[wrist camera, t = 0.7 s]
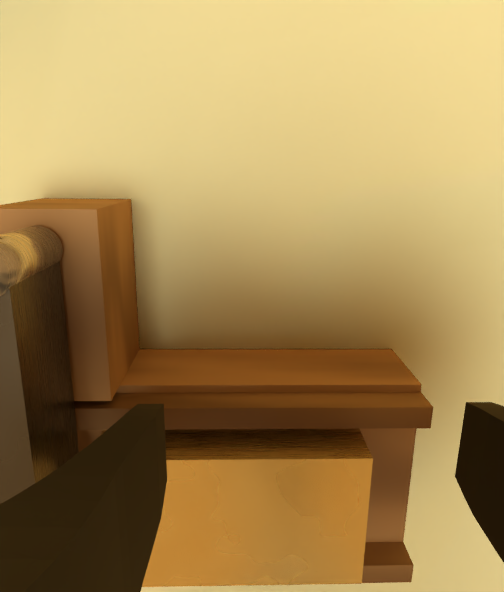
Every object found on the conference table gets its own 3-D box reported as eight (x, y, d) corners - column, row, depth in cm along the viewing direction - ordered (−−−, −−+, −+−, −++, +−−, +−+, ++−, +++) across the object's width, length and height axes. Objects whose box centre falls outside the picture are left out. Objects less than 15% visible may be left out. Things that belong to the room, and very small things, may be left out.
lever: (93, 560, 15) (57, 656, 12) (55, 561, 15) (10, 657, 12) (59, 225, 12) (3, 244, 9) (13, 225, 12) (-60, 243, 9)
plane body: (376, 505, 20) (410, 588, 16) (-11, 508, 19) (-75, 595, 15) (405, 201, 16) (457, 212, 12) (-63, 197, 16) (-160, 207, 12)
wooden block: (347, 534, 16) (361, 583, 14) (115, 536, 16) (99, 587, 14) (355, 421, 15) (373, 458, 13) (106, 422, 15) (86, 460, 13)
